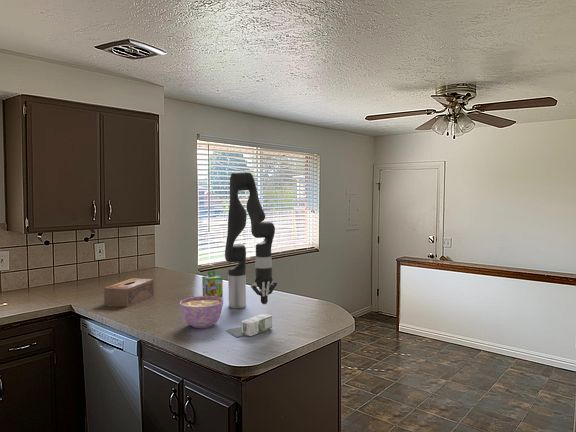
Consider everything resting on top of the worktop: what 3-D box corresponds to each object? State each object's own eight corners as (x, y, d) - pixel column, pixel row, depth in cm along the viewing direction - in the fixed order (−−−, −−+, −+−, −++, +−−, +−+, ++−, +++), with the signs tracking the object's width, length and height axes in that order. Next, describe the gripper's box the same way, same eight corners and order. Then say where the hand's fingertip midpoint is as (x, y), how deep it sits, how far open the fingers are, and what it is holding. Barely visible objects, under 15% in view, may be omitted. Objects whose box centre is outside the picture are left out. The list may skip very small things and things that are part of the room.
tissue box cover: (127, 307, 244) (126, 289, 243) (104, 305, 248) (103, 287, 247) (154, 296, 269) (153, 279, 268) (132, 294, 273) (132, 278, 272)
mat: (226, 330, 203) (226, 329, 203) (257, 324, 211) (257, 323, 211) (236, 337, 194) (236, 336, 194) (269, 331, 202) (269, 330, 202)
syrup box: (263, 313, 208) (240, 321, 197) (272, 315, 204) (250, 323, 193) (263, 325, 208) (240, 333, 197) (272, 328, 205) (250, 336, 194)
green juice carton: (209, 299, 259) (208, 273, 258) (201, 296, 267) (201, 271, 266) (223, 296, 265) (222, 271, 264) (216, 293, 272) (215, 269, 271)
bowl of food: (183, 320, 220) (183, 296, 219) (225, 318, 221) (225, 295, 220) (176, 333, 200) (175, 307, 199) (222, 332, 201) (221, 306, 200)
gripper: (272, 263, 211) (272, 300, 213) (246, 266, 205) (247, 304, 206) (280, 265, 205) (280, 303, 206) (254, 268, 198) (254, 307, 199)
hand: (264, 303), depth 206 cm, fingers closed
